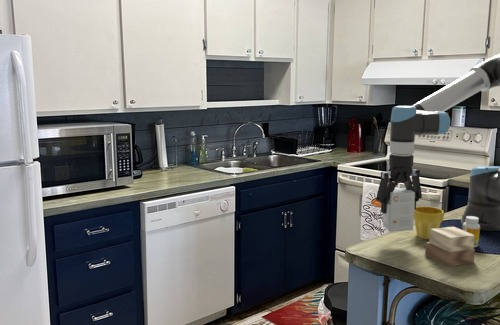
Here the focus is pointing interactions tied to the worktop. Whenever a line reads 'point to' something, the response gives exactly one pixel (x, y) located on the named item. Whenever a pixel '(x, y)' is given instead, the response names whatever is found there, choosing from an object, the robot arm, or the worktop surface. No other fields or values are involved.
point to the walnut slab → (449, 255)
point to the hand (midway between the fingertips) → (397, 221)
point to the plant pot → (427, 220)
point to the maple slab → (451, 239)
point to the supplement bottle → (472, 228)
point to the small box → (401, 210)
